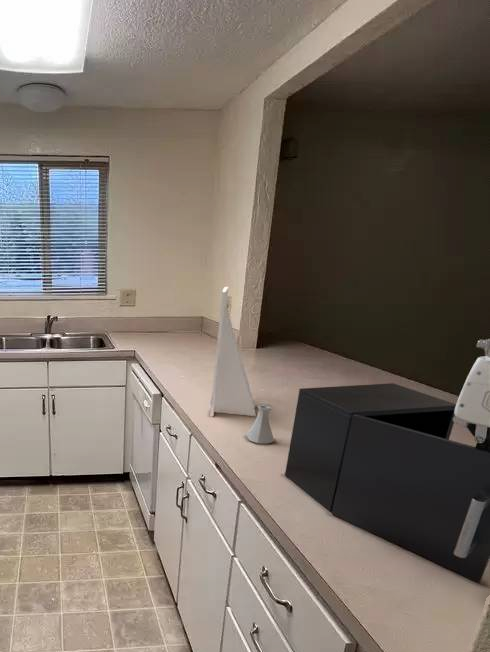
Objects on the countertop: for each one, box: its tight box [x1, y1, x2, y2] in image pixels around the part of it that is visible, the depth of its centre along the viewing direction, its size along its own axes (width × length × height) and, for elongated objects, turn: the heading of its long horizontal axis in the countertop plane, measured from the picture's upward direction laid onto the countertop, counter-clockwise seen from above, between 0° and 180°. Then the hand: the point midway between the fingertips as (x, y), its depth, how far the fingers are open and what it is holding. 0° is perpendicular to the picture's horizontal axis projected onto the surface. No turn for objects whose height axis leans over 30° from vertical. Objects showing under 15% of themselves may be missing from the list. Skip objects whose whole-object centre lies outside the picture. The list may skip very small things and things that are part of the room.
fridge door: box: [331, 414, 490, 584], centre depth 75 cm, size 6×24×22 cm, turn 33°
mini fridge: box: [284, 382, 457, 513], centre depth 95 cm, size 16×24×22 cm, turn 99°
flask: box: [246, 404, 275, 445], centre depth 123 cm, size 7×7×10 cm
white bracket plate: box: [209, 286, 257, 418], centre depth 143 cm, size 20×14×40 cm
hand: (483, 466), depth 69 cm, fingers closed
